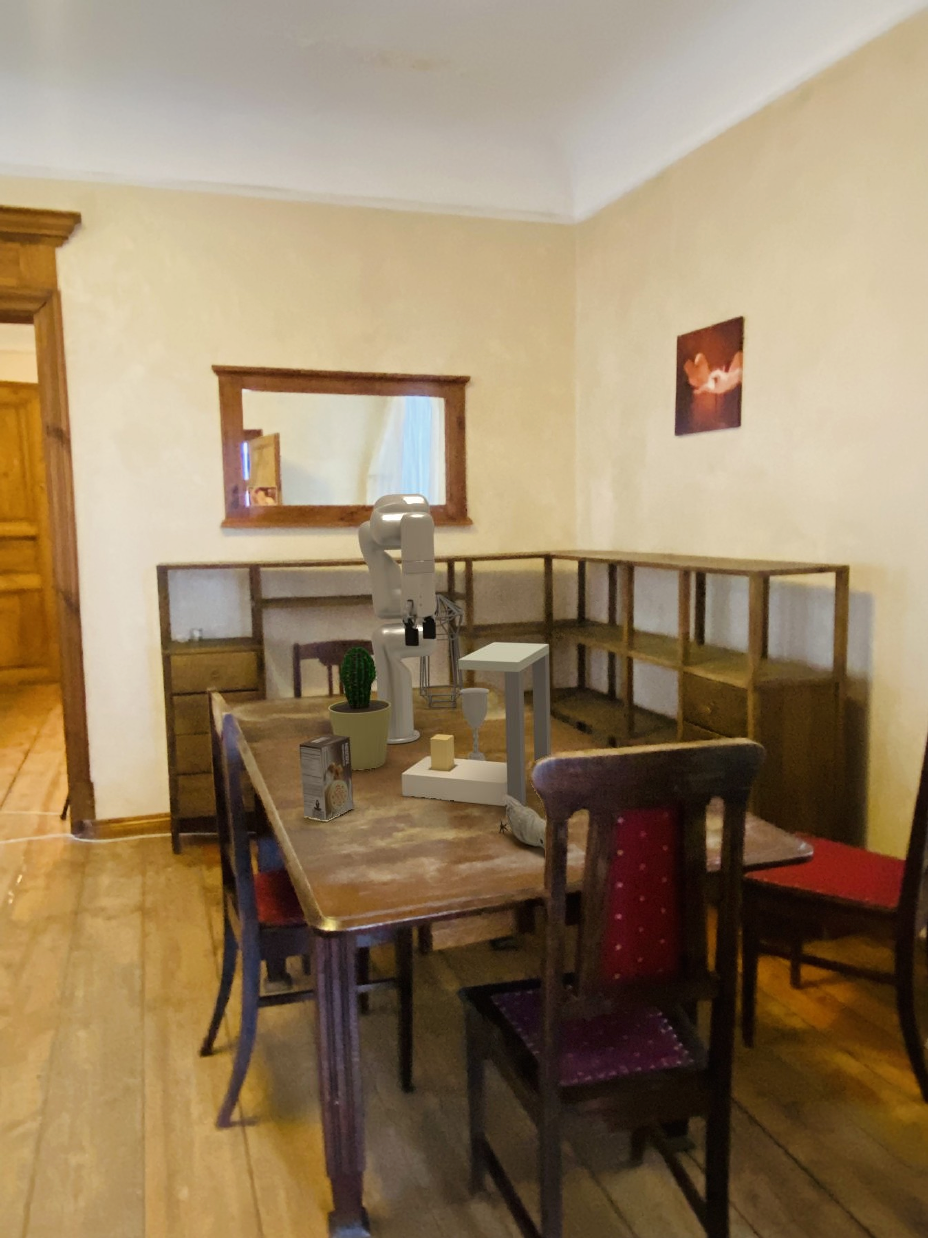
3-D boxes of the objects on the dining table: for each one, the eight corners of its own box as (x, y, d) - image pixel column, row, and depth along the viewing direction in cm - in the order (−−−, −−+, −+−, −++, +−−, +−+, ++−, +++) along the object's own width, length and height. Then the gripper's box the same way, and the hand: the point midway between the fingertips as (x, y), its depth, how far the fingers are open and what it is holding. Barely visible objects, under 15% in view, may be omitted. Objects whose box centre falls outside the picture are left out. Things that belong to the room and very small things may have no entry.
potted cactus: (319, 770, 223) (313, 649, 219) (348, 753, 237) (343, 639, 233) (376, 775, 218) (371, 651, 213) (403, 757, 232) (398, 640, 228)
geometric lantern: (466, 710, 279) (463, 596, 274) (415, 711, 280) (410, 598, 275) (467, 698, 295) (463, 591, 290) (418, 700, 295) (414, 592, 290)
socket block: (402, 795, 203) (401, 773, 202) (427, 776, 215) (427, 756, 215) (505, 806, 194) (504, 783, 193) (525, 785, 207) (524, 764, 206)
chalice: (494, 759, 228) (492, 688, 225) (486, 767, 221) (484, 694, 219) (466, 757, 230) (464, 687, 228) (458, 765, 224) (455, 693, 221)
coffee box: (331, 805, 198) (327, 732, 196) (354, 809, 195) (351, 736, 192) (302, 818, 190) (298, 743, 188) (326, 823, 187) (322, 747, 185)
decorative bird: (540, 861, 165) (539, 821, 164) (494, 834, 179) (493, 797, 178) (565, 854, 168) (564, 815, 167) (517, 828, 182) (517, 792, 181)
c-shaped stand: (463, 808, 193) (458, 659, 189) (497, 777, 213) (494, 642, 209) (521, 814, 188) (518, 662, 184) (551, 782, 209) (548, 644, 204)
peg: (432, 790, 205) (430, 738, 204) (438, 785, 209) (437, 734, 207) (448, 792, 204) (446, 740, 202) (455, 786, 208) (453, 735, 206)
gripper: (418, 564, 217) (421, 635, 219) (386, 571, 201) (389, 648, 204) (448, 564, 214) (450, 636, 217) (417, 571, 198) (420, 649, 201)
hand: (421, 642), depth 210 cm, fingers open, 9 cm apart
